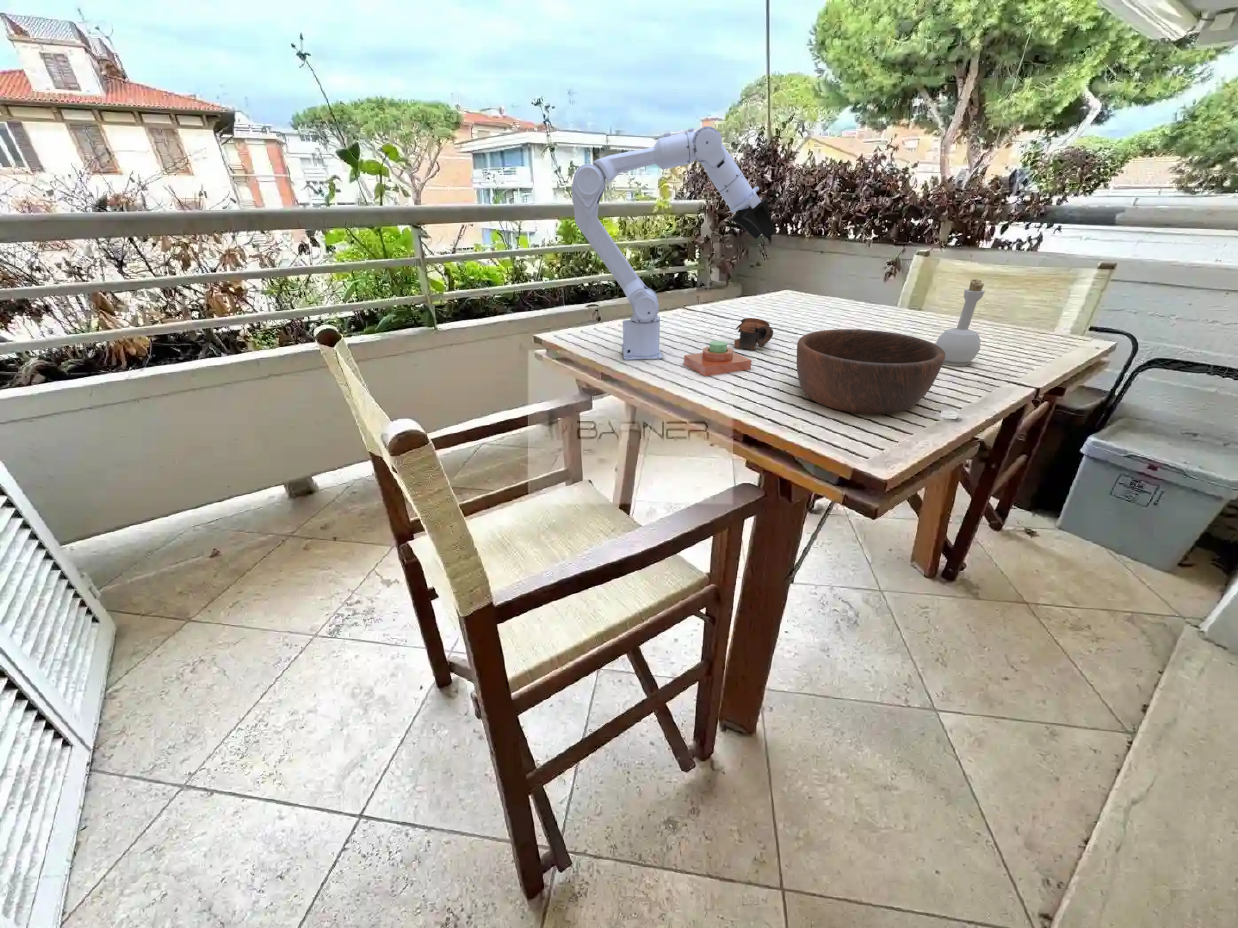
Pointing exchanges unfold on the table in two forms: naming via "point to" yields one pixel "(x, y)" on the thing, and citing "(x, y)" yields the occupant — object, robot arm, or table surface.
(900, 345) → the wooden bowl
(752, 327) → the pottery mug
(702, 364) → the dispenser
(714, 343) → the green button cap
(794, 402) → the table surface
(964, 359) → the potion bottle
